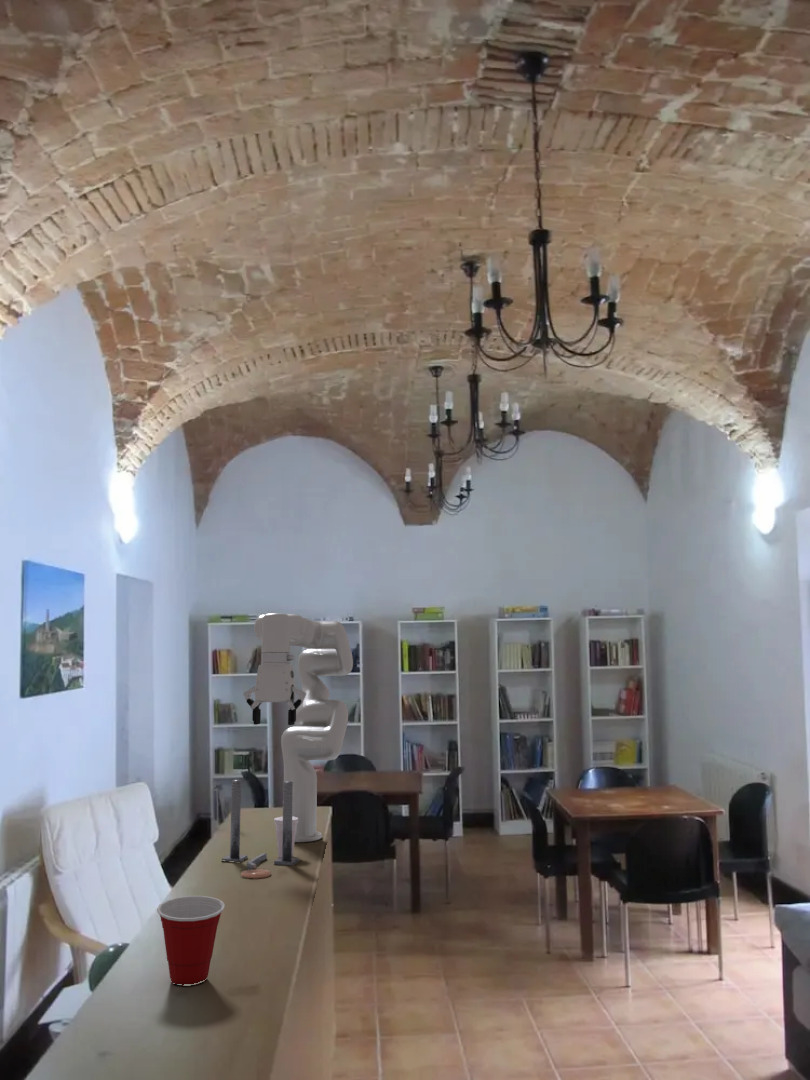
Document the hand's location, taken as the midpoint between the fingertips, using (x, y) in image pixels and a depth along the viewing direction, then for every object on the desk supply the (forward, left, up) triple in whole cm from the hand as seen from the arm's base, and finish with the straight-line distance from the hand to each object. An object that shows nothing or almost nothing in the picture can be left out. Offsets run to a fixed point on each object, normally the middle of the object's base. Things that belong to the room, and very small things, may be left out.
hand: (274, 724), depth 245 cm
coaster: (+20, +3, -34) cm, 39 cm away
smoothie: (-1, +3, -34) cm, 34 cm away
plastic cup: (+90, +19, -34) cm, 98 cm away
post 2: (+6, +6, -34) cm, 35 cm away
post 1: (+6, -8, -34) cm, 35 cm away
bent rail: (+10, 0, -34) cm, 35 cm away
